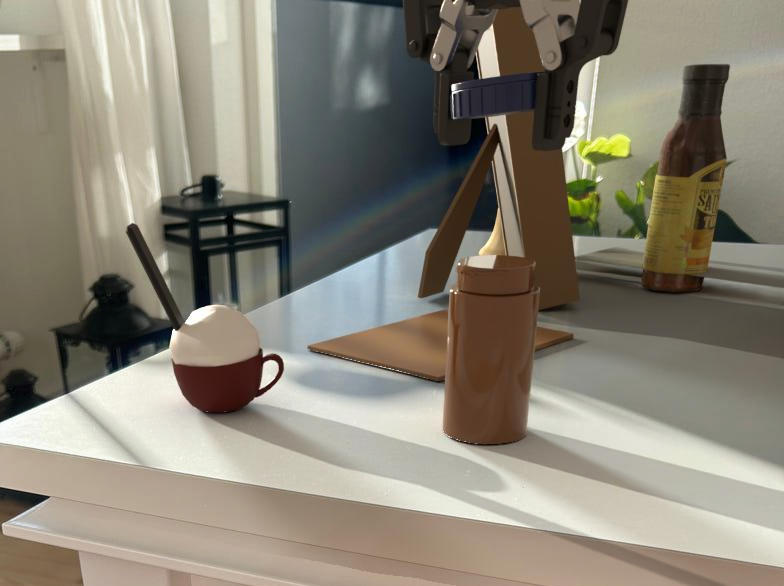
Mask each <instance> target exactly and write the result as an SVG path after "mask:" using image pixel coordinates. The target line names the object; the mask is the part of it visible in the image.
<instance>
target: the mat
mask: <svg viewBox="0 0 784 586" xmlns="http://www.w3.org/2000/svg"><path fill="white" fill-rule="evenodd" d="M448 314H449V309H446V308H445V309H441V310H437V311H433V312H429V313H426V314H421V315H418V316H414V317H411V318H407V319H403V320H399V321H396V322H392V323H388V324H384V325H380V326H376V327H373V328H368V329H364V330H360V331H357V332H354V333H349V334H345V335H343V336H342V335H341V336H338V337H334V338H331V339H327V340H323V341H319V342H316V343H311V344H308V345H306V347H307V350H308V349H310V350H314V351H318V352H323V353H327V354H332V355H336V356H340V357H344V358H348V359H352V360H356V361H360V362H364V363H369V364H373V365H377V366H382V367H386V368H391V369H394V370H399V371H402V372H406V373H410V374H413V375H417V376H421V377H425V378H428V379H431V380H435V381H434V382H436V381H441V380H444V379H445V371H446V352H447V333H448ZM572 339H574V333H573V332H568V331H563V330H557V329H552V328H548V327H541V326H537V329H536V339H535V350H534V352H535V351H538V350H541V349H543V348H548V347H550V346H554V345H557V344H559V343H562V342H565V341H568V340H572ZM431 380H430V381H431ZM444 381H445V380H444ZM441 382H442V381H441Z"/></svg>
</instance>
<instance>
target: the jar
mask: <svg viewBox="0 0 784 586" xmlns="http://www.w3.org/2000/svg"><path fill="white" fill-rule="evenodd" d="M535 268H536V263H535V261H533V260H531V259H528V258H524V257H518V256H507V255H483V256H479V255H473V256H467V257H464V258H461V259H459V260H458V261H457V266H456V267H455V270H454V271H455V272H456V283H454V284H452V285H451V286H450V287H449V297H448V310H449V314H448V333H447V352H446V371H445V380H444V393H443V408H442V409H443V411H442V428H443V429H442V432H443V431H444V432H443V434H444V433H445V434H447V435H448V436H450V437H452V438H454V439H458V440H460V441H466V442H470V443H477V444H476V445H478V444H499V445H502V444H501V443H507V442H512V443H514V442H513V441H515V442H518V441H521V440H522V439H523V438H525V437H526V435H527V432H528V424H529V423H528V422H529V412H530V401H531V391H532V390H531V388H532V380H533V370H534V360H535V351H536V350H535V339H536V329H537V327H538V319H539V317H538V316H539V310H538V308H539V298H540V288H539V287H538V286H536V285H534V279H535ZM534 350H535V351H534ZM445 434H444V435H445ZM448 436H447V437H448ZM454 439H453V440H454ZM517 440H518V441H517ZM460 441H459V442H460ZM507 444H508V443H507Z"/></svg>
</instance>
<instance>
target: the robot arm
mask: <svg viewBox="0 0 784 586" xmlns="http://www.w3.org/2000/svg"><path fill="white" fill-rule="evenodd" d="M469 3H470V5H468V4H469ZM628 3H629V0H402V7H403V8H402V9H403V21H404V23H403V24H404V36H405V38H404V39H405V50H406V53H407V55H408V56H409V57H410V58H411V59H419V60H421V61H423V62H425V63H427V64H428V65H429V66H431V68H432V70H433V73H434V88H433V89H434V90H433V91H434V92H433V104H434V105H433V114H432V115H433V119H432V125H433V128H434V133H435V134H437V141H438V144H439V145H441V146H450V147H451V146H452V147H453V146H459V145H466V144H468V142H469V141H470V140H471V139H470V138H471V135H472V134H471V133H472V119H466V120H453V118H451V100H450V95H451V94H452V89H451V86H452V85H453V84H456V83H461V82H466V81H471V80H475V79H474V78H475V77H474V76H475V72H474V71H468V69H469V68H470V67H471V66H472V64H473V62H474V59H475V57H476V52H477V49H478V46H479V44H480V41H481V39H482V36H483V34H484V32H485V31H486V30H488V29H489V28H490V27H491V25H492V24H493V21H494V19H495V16H496V14H497V11H498V10H501V9H508V8H511V7H521V8H522V12H523V15H524V19H525V22H526V23H527V25H528V26H529V27H530V28H531V29H532V30H533V32H534V35H535V39H536V43H537V47H538V50H539V54H540V58H541V62H542V65H543V67H544V68H545V73H537V84H536V97H535V109H534V121H533V134H532V147H533V149H534V150H535V151H552V150H559V149H561V148H562V149H563V148H564V146H565V144H566V139H568V138H570V137H571V135H572V133H573V130H574V128H575V118H576V116H575V115H576V111H577V110H576V109H577V108H576V106H577V101H578V99H577V98H578V89H579V78H580V74H581V71H582V69H583V68H584V67H585V65H587V63H589V62H592V61H594V60H596V59H598V58H600V57H603V56H611V55H612V54H614V53H615V52H616V51H617V49H618V46H619V43H620V40H621V34H622V30H623V26H624V22H625V17H626V13H627V9H628Z"/></svg>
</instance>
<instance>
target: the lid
mask: <svg viewBox="0 0 784 586" xmlns="http://www.w3.org/2000/svg"><path fill="white" fill-rule="evenodd" d="M537 73H545V71H540V72H529V73H520V74H512V75H504V76H497V77H490V78H483V79H480V78H477V79H473V80H471V81H466V82H461V83H456V84H453V85H452V86H451V89H452V94H451V95H450V100H451V118H453V120H466V119H471V120H474V119H484V118H485V117H493V116H501V115H509V114H517V113H525V112H532V111H534V109H535V97H536V84H537Z"/></svg>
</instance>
